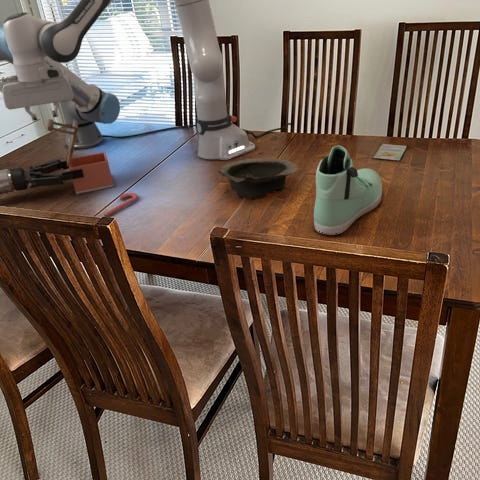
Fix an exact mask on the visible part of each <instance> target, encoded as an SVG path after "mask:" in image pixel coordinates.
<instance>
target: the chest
mask: <svg viewBox="0 0 480 480" xmlns="http://www.w3.org/2000/svg"><path fill="white" fill-rule="evenodd" d="M78 169H82V171H83V174H84V177H82V178H77V179H72V180H71V181H72V184H73V188H74V192H75V194H76V195H79V194H83V193H84V194H85V193H89V192H93V191H97V190H98V191H99V190H104V189H108V188H109V189H110V188H113V187H115V185H114V181H113V177H112V171H111V168H110V164H109V160H108V157H107V154H106V151H102V152H97V153H91V154H85V155H79V156H74V157H72V160H71V165H70V167H69V169H68V171H73V170H78Z"/></svg>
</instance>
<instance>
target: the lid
mask: <svg viewBox="0 0 480 480" xmlns="http://www.w3.org/2000/svg"><path fill="white" fill-rule="evenodd" d="M55 126H60V127H62V128H63V127H64V128H66V129H61V128H57V127H55ZM46 128H47V129H46V130H47V131H48V132H53V131H55V132H58V133H64V134H66V133H67V134H71V136H70V141H69V146H68V147H67V151H66V156H65V158H66V161H67V167H70V165H71V160H72V158H73V156H74V151H75V149H74V145H75V141H76V136H77V131H78V125H77V120H76V119H74V121H73V126H70V125H66V123H61V122H58V121H54V120H53V119H52V118H49V119H48V120H47V126H46ZM67 128H72V131H71V132H70V131H67Z"/></svg>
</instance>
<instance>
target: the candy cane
mask: <svg viewBox="0 0 480 480" xmlns="http://www.w3.org/2000/svg"><path fill="white" fill-rule="evenodd" d="M126 198H127V199H128V198H129V199H128V200H125V199H126ZM138 198H139V197H138V194H137V193H135V192H125V193H123V194H121V195H120V196H119V200H121V201H123V200H125V201H123V202H121V203H120V204H118V205H116V206H115V207H113V208H110V209H109V210H107V211H105V212H104V213H103V217H105V216H106V217H105V218H108V217H110V216H111V215H113V214H114V213H117V212H118V211H120V210H123V209H124V208H126V207H127V206H129V205H131V204H133V203H135V202H136V201H137V200H138Z"/></svg>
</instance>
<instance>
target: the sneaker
mask: <svg viewBox="0 0 480 480" xmlns="http://www.w3.org/2000/svg"><path fill="white" fill-rule="evenodd" d="M317 165H318V166H317V168H316V172H315V201H314V207H313V225H314V229H315V231H316V232H318V233H320V234H323V235H326V236H327V235H328V236H336V235H339V234H342V233H344V232H345V231H347V230H348V229H349V228H350V227H351V226H352V225H353V224H354V222H356V221H357V220H358V219H359V218H360V217H362V216H363V215H365V214H367V213H370V212H372V210H374V209H375V208H377V207H378V205H380V203H381V200H382V196H383V184H382V183H383V182H382V179H381V176H380V175H379V173H378V172H377V171H376V170H374V169H372V168H367V167H365V168H358V169H357V168H355V167H354V161H353V159H352V158H351V156H350V153H349V152H348V150H347V148H345V147H344V146H342V145H334V146H333V147H331V149H330V151H329V154H327V155H326V156H325V157H324V158H322V159H321V160H320V161H319V163H318V164H317ZM343 230H344V231H343ZM319 231H320V232H319ZM322 232H323V233H322ZM339 232H340V233H339ZM326 233H327V234H326ZM328 233H329V234H328ZM335 233H337V234H335Z"/></svg>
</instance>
